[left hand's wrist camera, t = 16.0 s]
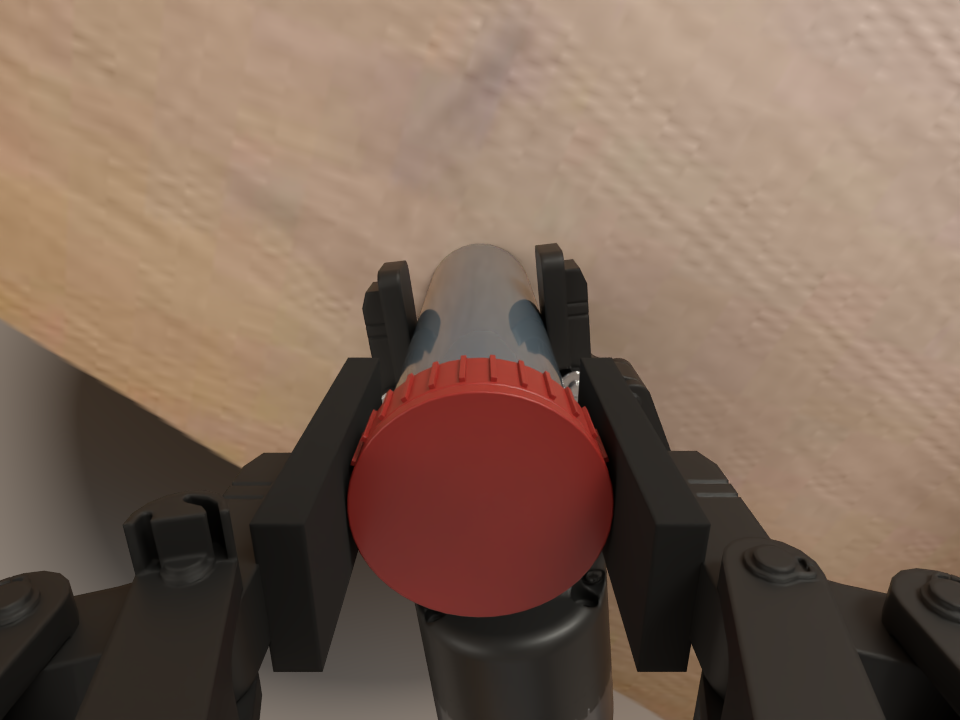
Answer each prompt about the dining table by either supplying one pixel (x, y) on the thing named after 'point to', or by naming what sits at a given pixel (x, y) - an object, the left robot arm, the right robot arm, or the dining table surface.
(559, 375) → the grey bottle
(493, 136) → the dining table surface
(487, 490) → the lid
